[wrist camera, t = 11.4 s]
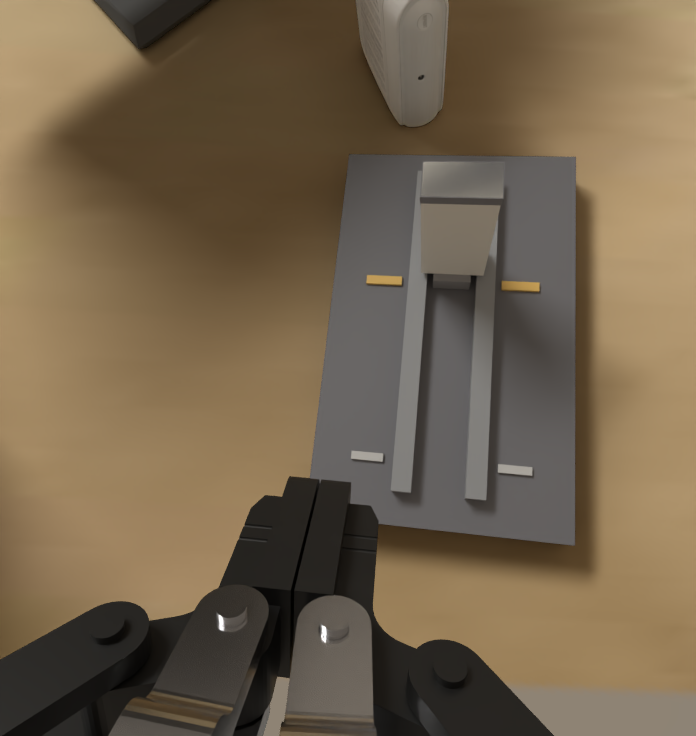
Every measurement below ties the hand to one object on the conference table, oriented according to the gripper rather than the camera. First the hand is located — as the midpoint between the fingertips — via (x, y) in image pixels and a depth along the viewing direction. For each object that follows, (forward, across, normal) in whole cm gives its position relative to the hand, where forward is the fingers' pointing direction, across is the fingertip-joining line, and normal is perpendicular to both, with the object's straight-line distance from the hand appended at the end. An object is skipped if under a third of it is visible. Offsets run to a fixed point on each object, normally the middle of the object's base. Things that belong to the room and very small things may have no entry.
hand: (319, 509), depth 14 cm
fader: (+27, -5, 0) cm, 27 cm away
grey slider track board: (+26, -5, +5) cm, 27 cm away
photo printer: (+41, -1, -12) cm, 42 cm away
